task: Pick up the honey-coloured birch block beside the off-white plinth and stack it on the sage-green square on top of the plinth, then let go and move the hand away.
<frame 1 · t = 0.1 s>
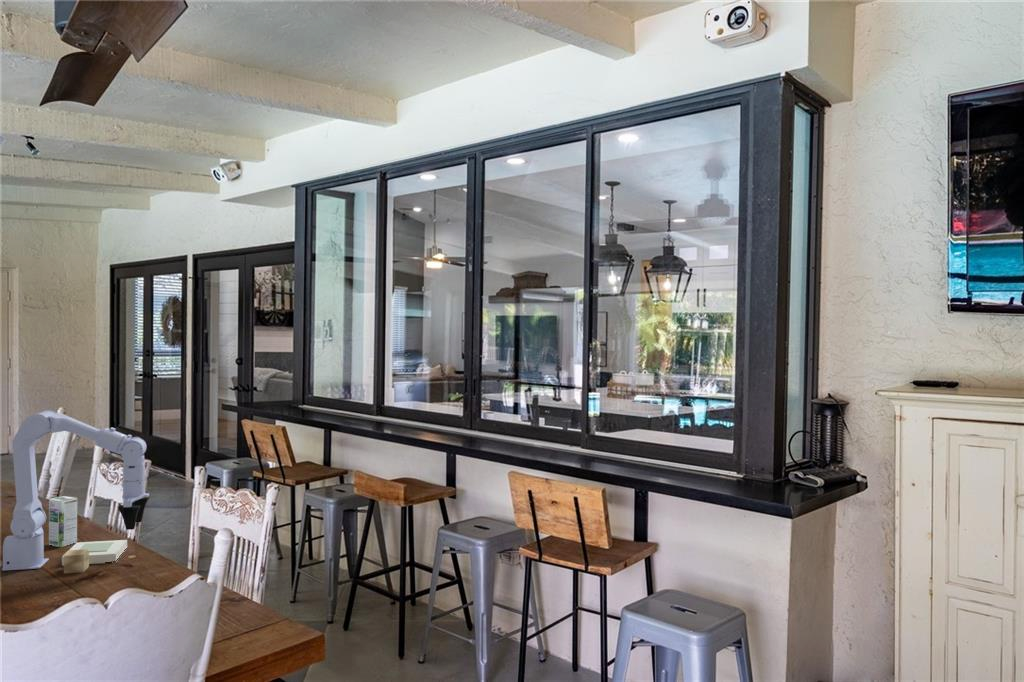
hand: (133, 525, 223), 10 cm above the table, tool pointing down, fingers open, 7 cm apart
syrup box: (63, 544, 236), on the table
birch block: (76, 570, 213), on the table
base plinth: (95, 556, 225), on the table
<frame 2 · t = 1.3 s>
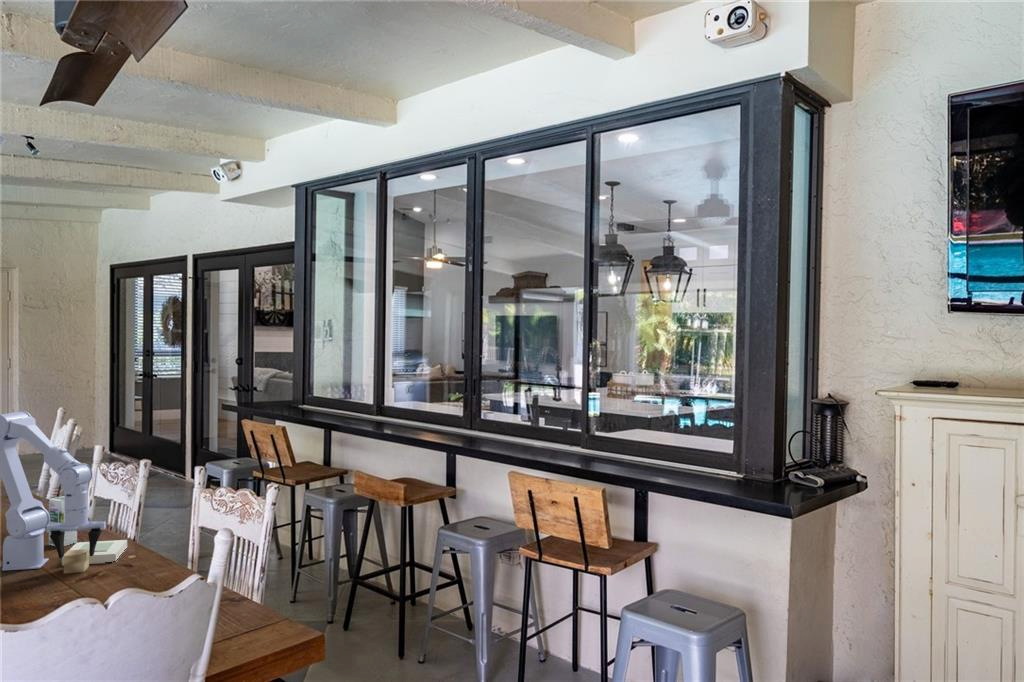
hand: (76, 556, 213), 4 cm above the table, tool pointing down, fingers open, 7 cm apart
nothing on the table moved.
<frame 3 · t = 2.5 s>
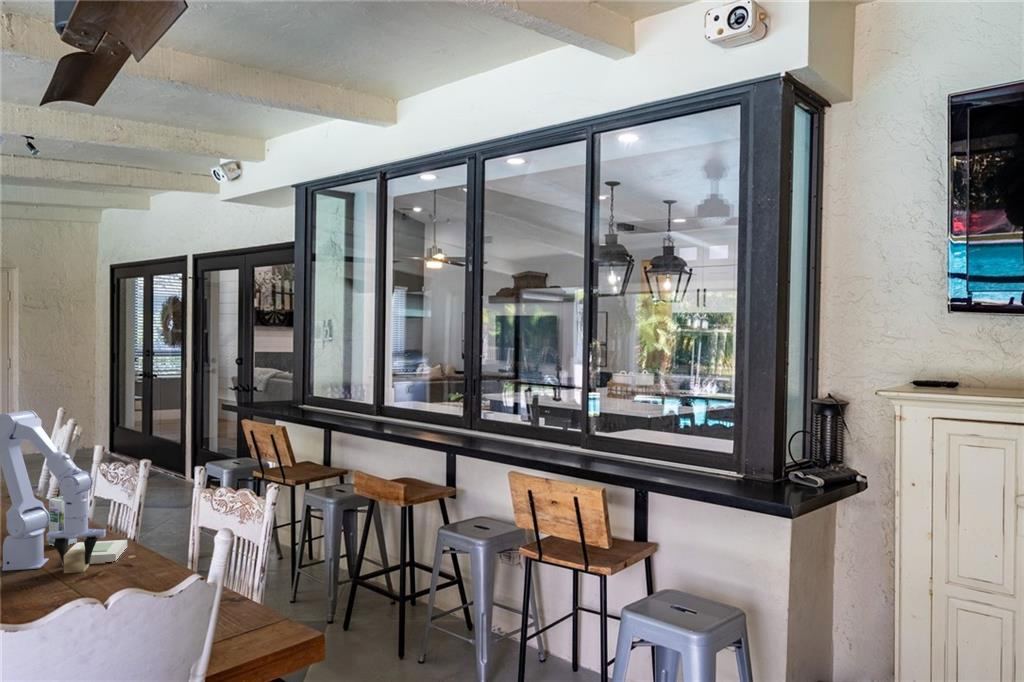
hand: (76, 563, 213), 2 cm above the table, tool pointing down, fingers closed on birch block, 5 cm apart
birch block: (76, 569, 213), on the table, touching gripper
everything else where it was.
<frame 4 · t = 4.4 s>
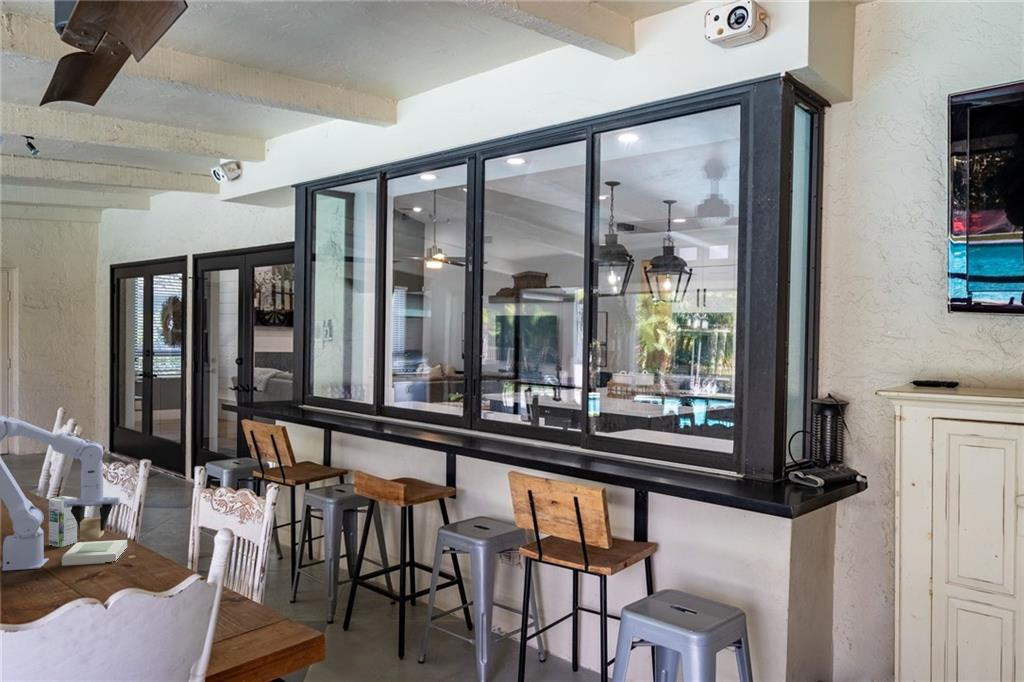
hand: (92, 530, 223), 8 cm above the table, tool pointing down, fingers closed on birch block, 5 cm apart
birch block: (92, 536, 222), point 7 cm above the table, touching gripper
everything else where it was.
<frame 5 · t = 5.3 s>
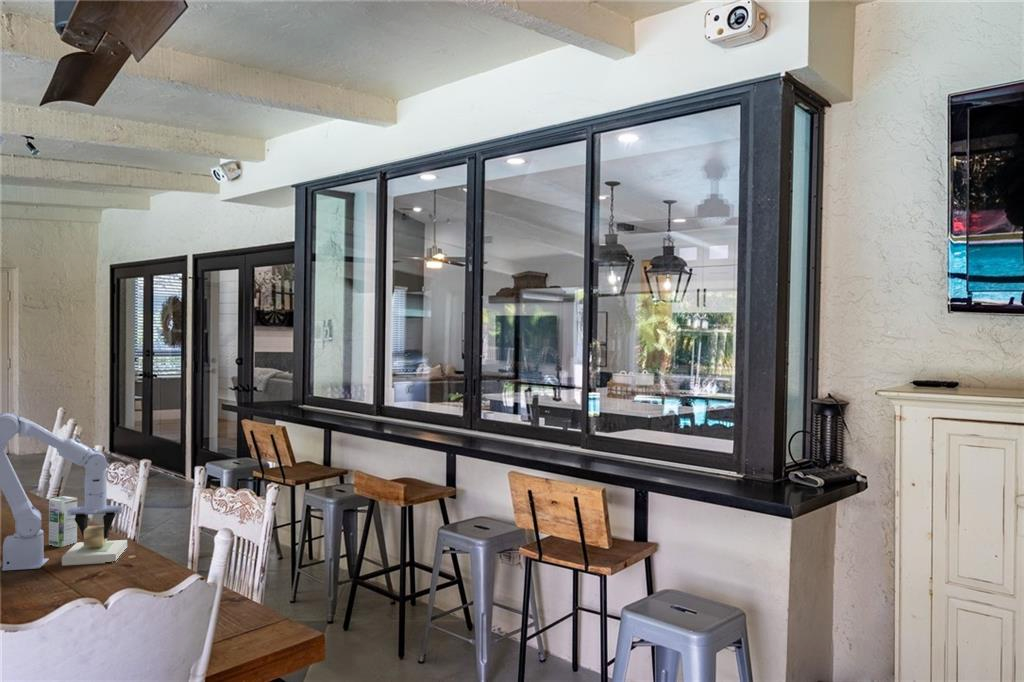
hand: (95, 538, 225), 5 cm above the table, tool pointing down, fingers closed on birch block, 5 cm apart
birch block: (95, 544, 225), point 4 cm above the table, touching gripper
everything else where it was.
when the fingers open (5 cm above the table, at t = 6.3 s): birch block stays where it is, resting on base plinth.
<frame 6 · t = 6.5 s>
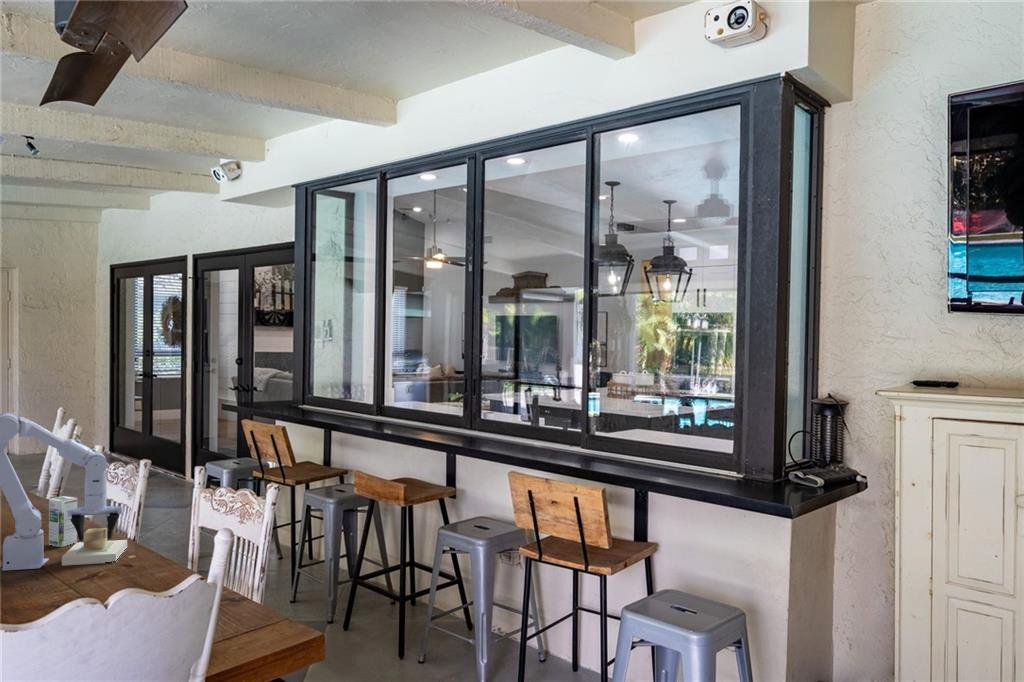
hand: (95, 538, 225), 5 cm above the table, tool pointing down, fingers open, 7 cm apart
birch block: (95, 547, 225), point 3 cm above the table, touching base plinth
everything else where it was.
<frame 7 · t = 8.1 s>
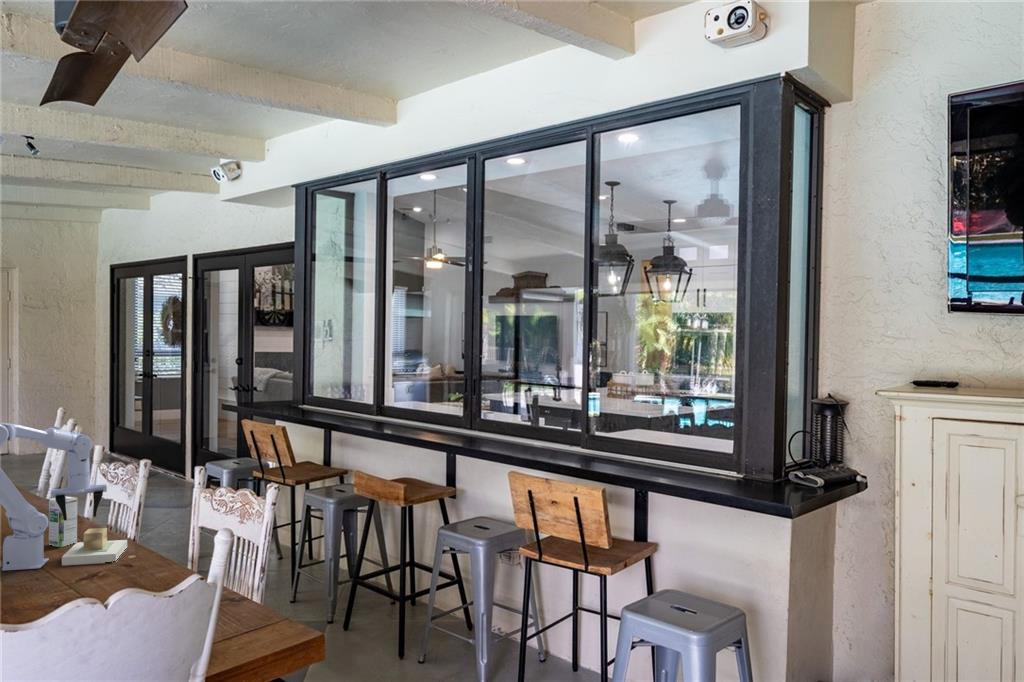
hand: (80, 517, 229), 10 cm above the table, tool pointing down, fingers open, 7 cm apart
nothing on the table moved.
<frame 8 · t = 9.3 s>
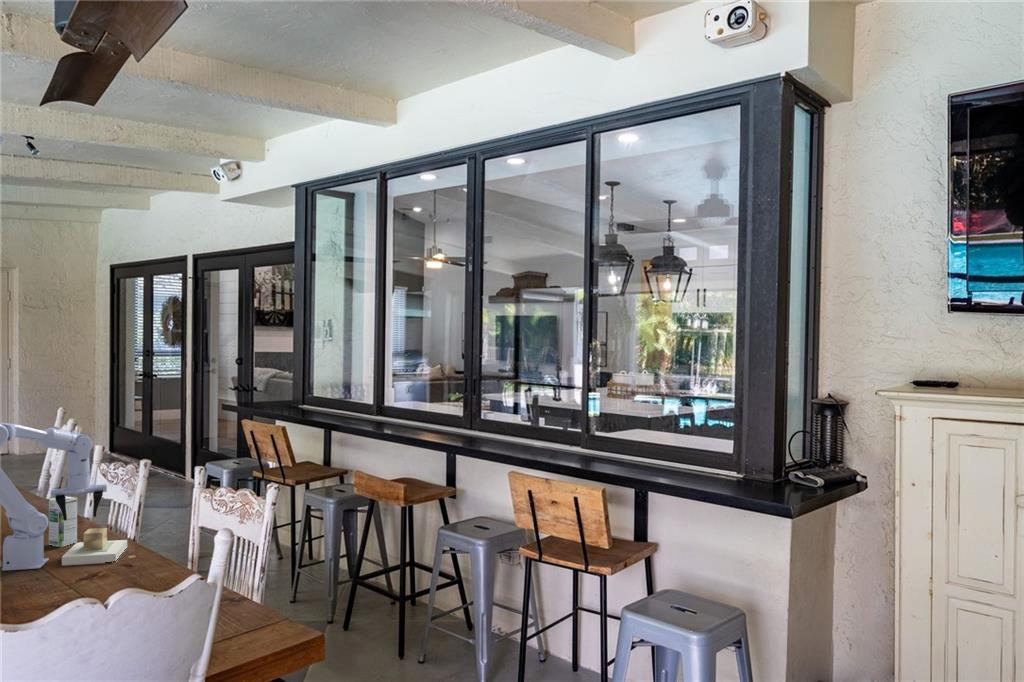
hand: (80, 517, 229), 10 cm above the table, tool pointing down, fingers open, 7 cm apart
nothing on the table moved.
at the end: birch block inside the target area on the base plinth (0.3 cm from its centre), point 2.8 cm above the base plinth's base; birch block tilted 0°; the gripper is holding nothing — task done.
